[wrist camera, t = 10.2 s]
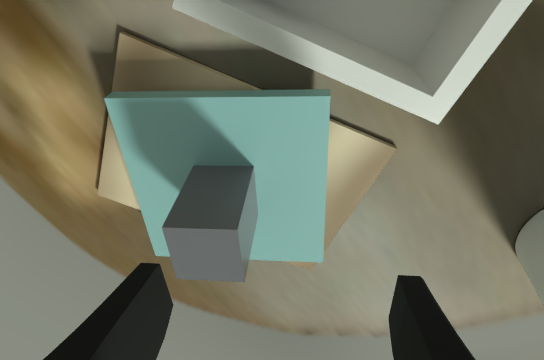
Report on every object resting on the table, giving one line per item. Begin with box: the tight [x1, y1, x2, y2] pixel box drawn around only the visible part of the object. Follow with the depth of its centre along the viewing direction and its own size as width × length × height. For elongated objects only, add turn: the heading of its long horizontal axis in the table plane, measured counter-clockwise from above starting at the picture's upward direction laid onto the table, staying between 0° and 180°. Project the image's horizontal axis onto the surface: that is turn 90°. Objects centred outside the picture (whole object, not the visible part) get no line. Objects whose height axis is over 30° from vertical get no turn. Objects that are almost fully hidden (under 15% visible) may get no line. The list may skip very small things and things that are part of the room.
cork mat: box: [98, 31, 397, 270], centre depth 20 cm, size 14×10×1 cm
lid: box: [104, 89, 330, 282], centre depth 17 cm, size 10×10×6 cm
